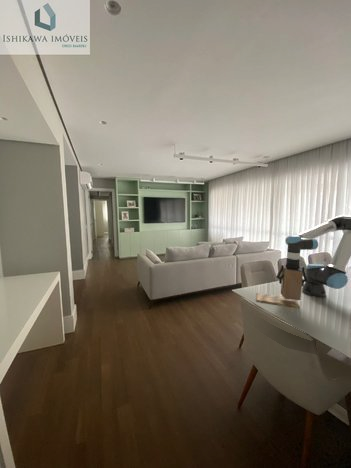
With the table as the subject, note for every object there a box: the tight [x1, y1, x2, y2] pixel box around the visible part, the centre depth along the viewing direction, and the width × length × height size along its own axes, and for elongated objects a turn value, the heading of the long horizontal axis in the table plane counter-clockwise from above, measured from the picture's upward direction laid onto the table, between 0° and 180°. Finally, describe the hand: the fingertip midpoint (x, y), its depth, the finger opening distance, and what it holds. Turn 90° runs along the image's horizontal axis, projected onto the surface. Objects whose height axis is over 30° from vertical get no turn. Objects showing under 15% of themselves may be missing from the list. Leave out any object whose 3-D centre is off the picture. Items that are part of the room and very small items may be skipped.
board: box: [256, 292, 301, 309], centre depth 138 cm, size 26×13×1 cm, turn 68°
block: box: [279, 267, 304, 301], centre depth 133 cm, size 10×10×20 cm
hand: (290, 289), depth 134 cm, fingers closed on block, 11 cm apart
